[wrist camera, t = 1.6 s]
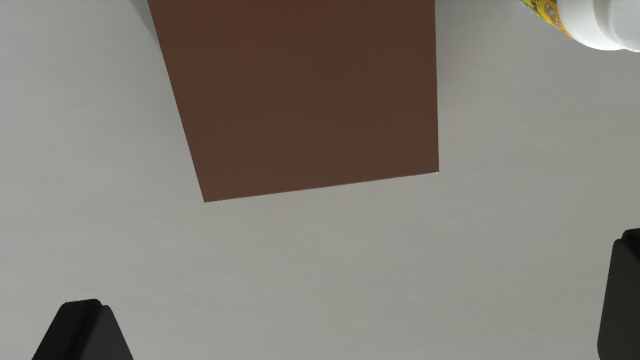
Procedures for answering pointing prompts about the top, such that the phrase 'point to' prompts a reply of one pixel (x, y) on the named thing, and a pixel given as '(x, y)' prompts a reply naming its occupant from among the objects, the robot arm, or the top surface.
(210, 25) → the brown drawer front
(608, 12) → the supplement bottle
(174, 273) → the top surface
